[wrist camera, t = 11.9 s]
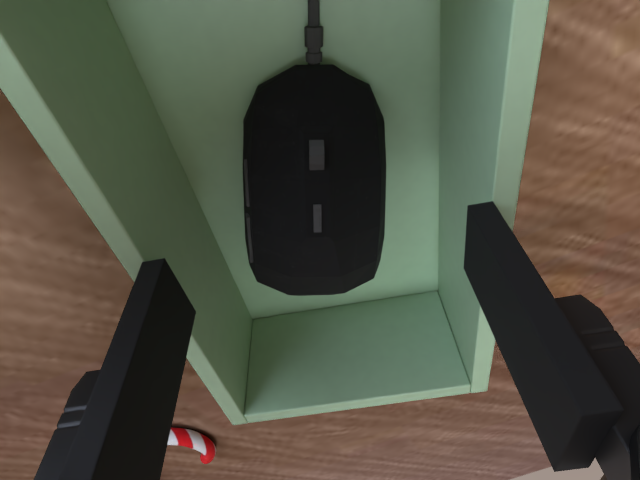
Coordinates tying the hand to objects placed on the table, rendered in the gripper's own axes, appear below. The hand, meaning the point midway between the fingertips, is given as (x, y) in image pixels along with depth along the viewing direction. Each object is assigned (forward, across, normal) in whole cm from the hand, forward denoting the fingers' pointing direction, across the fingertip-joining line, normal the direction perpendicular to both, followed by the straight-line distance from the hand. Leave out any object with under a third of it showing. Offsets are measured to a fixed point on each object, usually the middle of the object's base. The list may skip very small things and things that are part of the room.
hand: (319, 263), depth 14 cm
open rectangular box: (+7, 0, 0) cm, 7 cm away
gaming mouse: (+6, 0, 0) cm, 6 cm away
